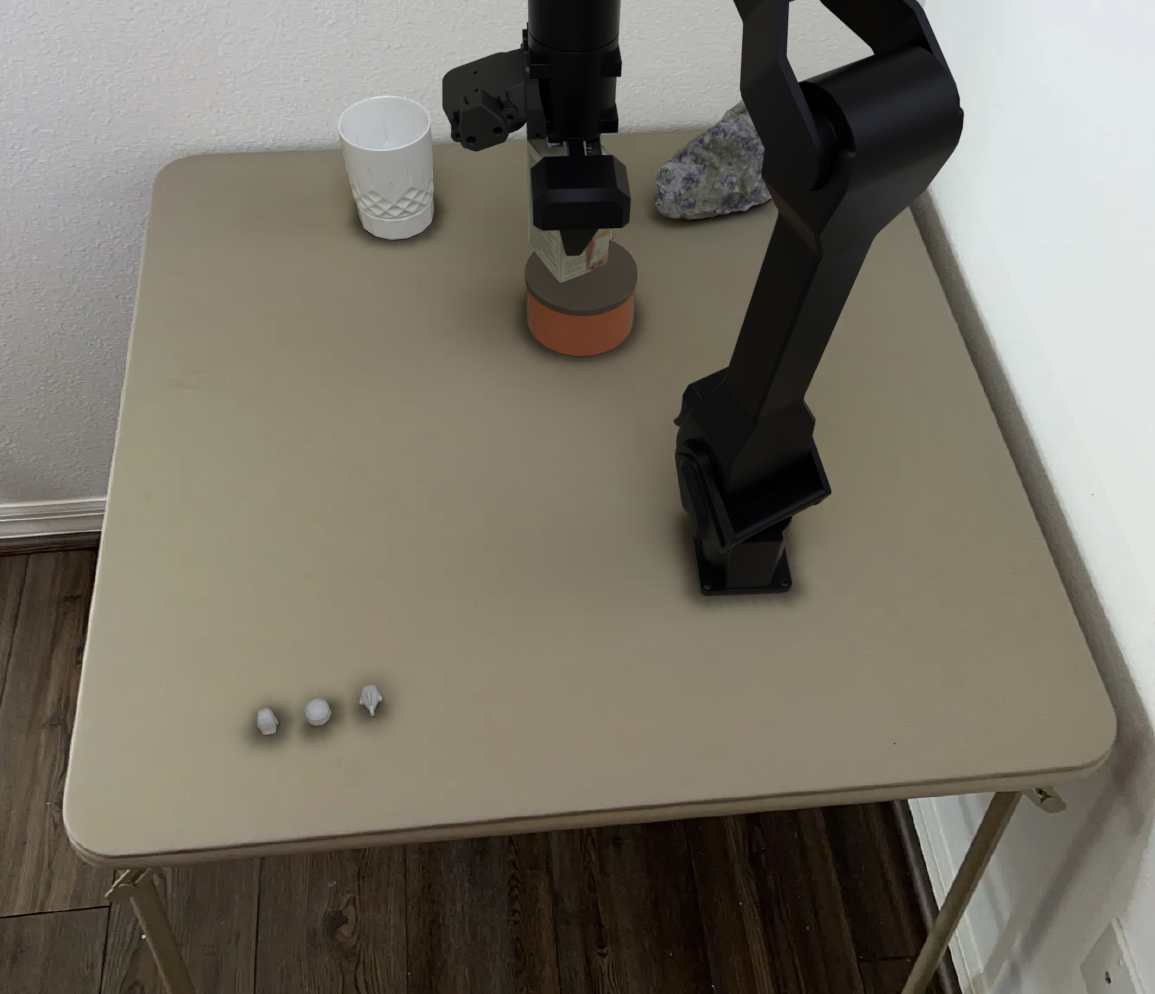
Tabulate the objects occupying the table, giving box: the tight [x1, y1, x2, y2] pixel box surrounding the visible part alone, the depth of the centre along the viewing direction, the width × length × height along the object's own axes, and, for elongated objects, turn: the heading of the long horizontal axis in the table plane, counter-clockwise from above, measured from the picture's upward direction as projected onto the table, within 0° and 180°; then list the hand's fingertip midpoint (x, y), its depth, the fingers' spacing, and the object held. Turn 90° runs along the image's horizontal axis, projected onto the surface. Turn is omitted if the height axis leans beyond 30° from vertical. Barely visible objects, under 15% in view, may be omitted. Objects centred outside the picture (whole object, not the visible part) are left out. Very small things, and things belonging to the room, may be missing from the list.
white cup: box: [336, 94, 435, 241], centre depth 100 cm, size 8×8×10 cm
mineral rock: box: [654, 99, 772, 220], centre depth 102 cm, size 13×11×10 cm
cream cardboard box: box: [526, 138, 611, 283], centre depth 81 cm, size 5×4×10 cm
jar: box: [524, 238, 639, 357], centre depth 94 cm, size 9×9×5 cm
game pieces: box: [256, 684, 383, 736], centre depth 73 cm, size 8×2×2 cm, turn 102°
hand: (570, 225), depth 83 cm, fingers closed on cream cardboard box, 6 cm apart
